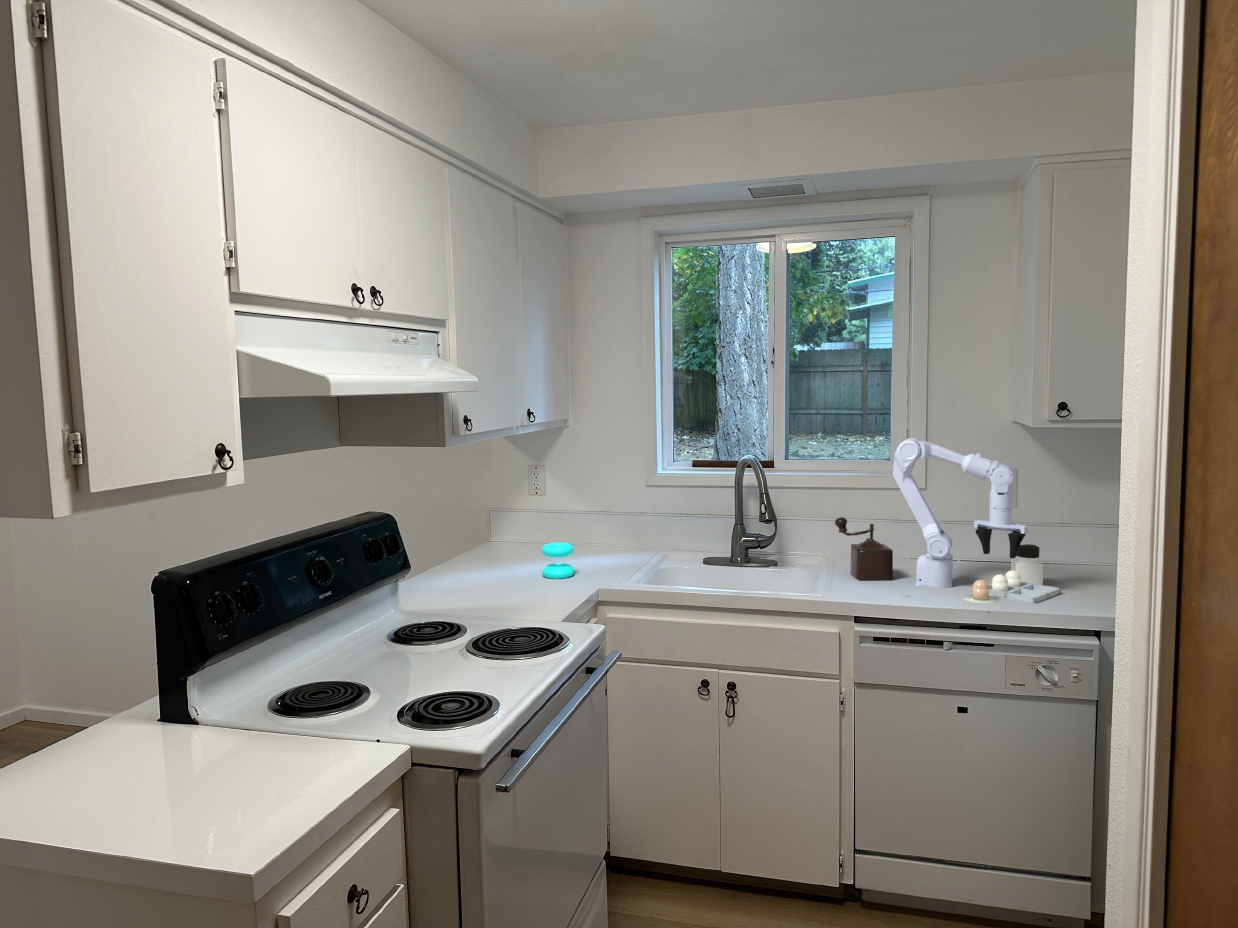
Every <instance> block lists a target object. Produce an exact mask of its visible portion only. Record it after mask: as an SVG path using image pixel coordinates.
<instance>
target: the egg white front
mask: <svg viewBox="0 0 1238 928" xmlns="http://www.w3.org/2000/svg"><path fill="white" fill-rule="evenodd" d="M991 584H992V590H997V591H1002V592H1008V580H1007V578H1006V577H1005V575H1004V574H1001V573H999V574H996V575H994V576H993V577H992V579H991Z"/></svg>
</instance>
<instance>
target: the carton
mask: <svg viewBox="0 0 1238 928" xmlns="http://www.w3.org/2000/svg"><path fill="white" fill-rule="evenodd" d="M988 585H989V596H991V597H996V598H1003V599H1008V600H1014V601H1019V602H1025V603H1029V604H1037V603H1040V602H1042V601H1044V600H1047V599H1050V598H1052V597H1055V596H1058V595H1060V594H1062V593H1061V591H1062V589H1061V587H1054V586H1049V585H1044V584H1043V585H1038V584H1032V583H1026V582H1020V587H1019V588H1018V587H1012V586H1008V592H1002V591H997V590H992V583H989V584H988Z"/></svg>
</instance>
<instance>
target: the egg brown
mask: <svg viewBox="0 0 1238 928" xmlns="http://www.w3.org/2000/svg"><path fill="white" fill-rule="evenodd" d="M972 595H973V599H974V600H979V601H987V600H989V596H990V595H989V584H988V582H987V581H986V580H984V579H978V580H975V581H974V583H973V584H972Z"/></svg>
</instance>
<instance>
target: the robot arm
mask: <svg viewBox="0 0 1238 928" xmlns="http://www.w3.org/2000/svg"><path fill="white" fill-rule="evenodd" d="M893 456H894V457H893V458H894V459H893V467H892V468H893V469H892V477H893V478H894V480H895V482H896V484H897V486H898V487H899V490H900V491H901V493H902V495H903V497H904V499H905V501H906V503H907V504H908V506H909V507H908V508H910V510H911V513H912V514H913V516H914V517H915V519H916V522H917V523H918V525H919V527H920V528H921V531H922V535H923V538H924V540H925V542H926V550H927V553H926V554H921V555H920V556H919V557H918V558H917V561H916V571H915V572H916V575H915V577H916V579H915V581H916V582H915V584H914V586H915V587H918V586H922V585H923V586H926V587H927V586H928V587H930V588H937V589H947V588H952V587H953V568H954V566H953V565H954V562H953V561H954V555H952V554H951V553H950V552H951V549H952V546H953V538H952V536H950V534H949V533H947V532H946V531H944V529H943V527H942V526H941V524H940V523H939V522H938V521H937V518H936V517H935V515H934V513H933V512H932V510H931V507H930V506H929V504H928V502H927V500H926V498H925V497H924V494H923V493H922V490H921V489H920V487H919V486H918V484H917V482H916V480H915V478H914V476H913V475H912V474H913V469H914V467H915V464H916V462H917V460H919V458H920V457H921V459H929V458H935V459H938V460H940V461H944V462H946V463H949V464H953V465H956V466H958V467H961V469H962V472H963V473H965V474H968V475H970V476H973V477H976V478H979V479H981V480H984V481H990V482H991V484H990V485H991V489H990V491H989V518H988V519H989V520H981V519H977V520H976V519H975V520H974V521H973V528H975V534H976V536H977V537H978V540H979V541H980V545H981V547H982V548H981V549H982V553H983V555H989V554H990V551H991V539H992V532H993V530H994V531H995V530H996V531H1003V532H1010V533H1007V536H1008V540H1009V541H1008V542H1009V559H1017V558H1016V555H1017V551H1018V548H1019V546H1020V544H1022V542H1023V541H1024V538H1025V537H1026V534H1028V532H1029V531H1028V530H1029V527H1028V525H1023V524H1017V523H1013V522H1012V521H1013V520H1012V519H1013V491H1012V490H1013V484H1012V482H1013V481H1014V472H1013V470H1012V468H1011V467H1010V466H1009V465H1007V464H1005V463H999V461H998V460H995V459H994V460H991V459H988V458H984V457H983V456H982V454H980V453H978V452H977V453H976V454H974V453H970V454H968V455H963V454H961V453H958V452H957V451H953V450H951V449H949V448H946V447H943V446H941V445H938V444H936V443H934V442H929V441H925V440H919V439H917V438H914V437H910V438H907V439H905V440H904V441H902V442H901V443H899V445H898V446H897V449H896V450H895V452H894V454H893Z"/></svg>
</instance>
